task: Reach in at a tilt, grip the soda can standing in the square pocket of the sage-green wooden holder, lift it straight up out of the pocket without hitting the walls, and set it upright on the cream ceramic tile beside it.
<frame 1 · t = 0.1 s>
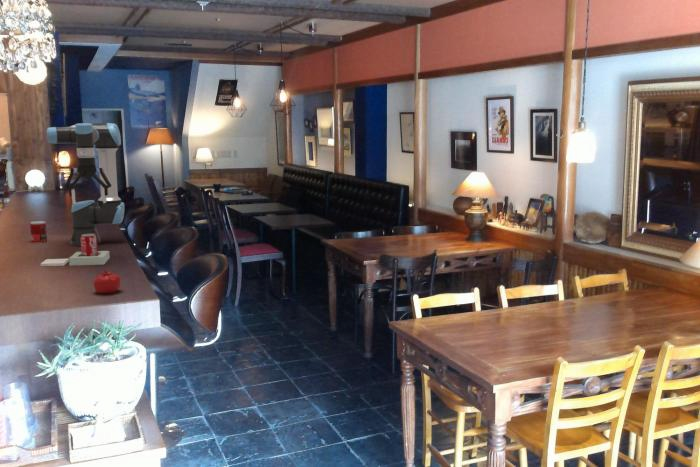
hand: (89, 203, 297), 28 cm above the table, tool pointing down, fingers open, 13 cm apart
soda can: (90, 262, 301), resting in holder
tile: (55, 263, 297), on the table
pomegranate: (107, 292, 248), on the table
canned food: (39, 242, 351), on the table
holder: (90, 261, 301), on the table
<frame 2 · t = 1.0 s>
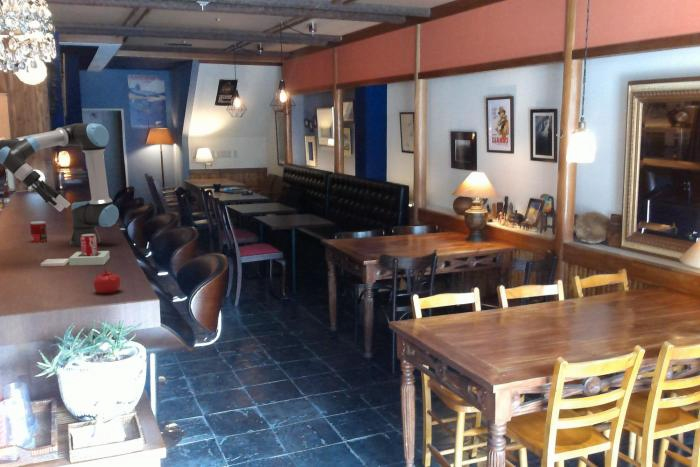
hand: (65, 207, 295), 26 cm above the table, tool tilted 45°, fingers open, 13 cm apart
nothing on the table moved.
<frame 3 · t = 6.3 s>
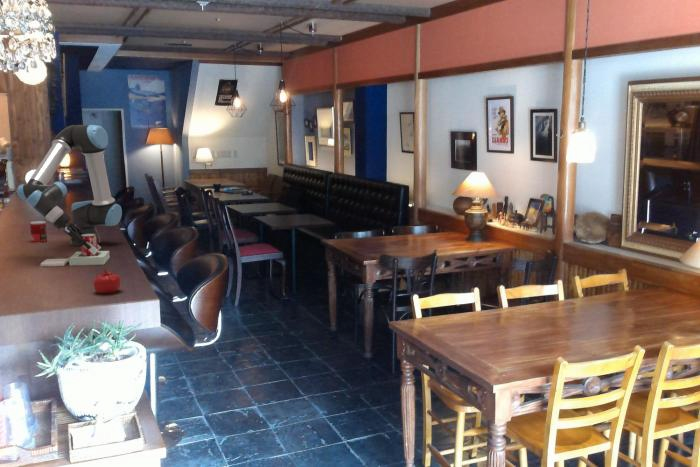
hand: (97, 251, 301), 5 cm above the table, tool tilted 45°, fingers closed on soda can, 6 cm apart
soda can: (90, 262, 301), resting in holder, touching gripper
everything else where it was.
when the fingers open (8 cm above the table, at t = 12.7 s): soda can drops 1 cm, resting on tile.
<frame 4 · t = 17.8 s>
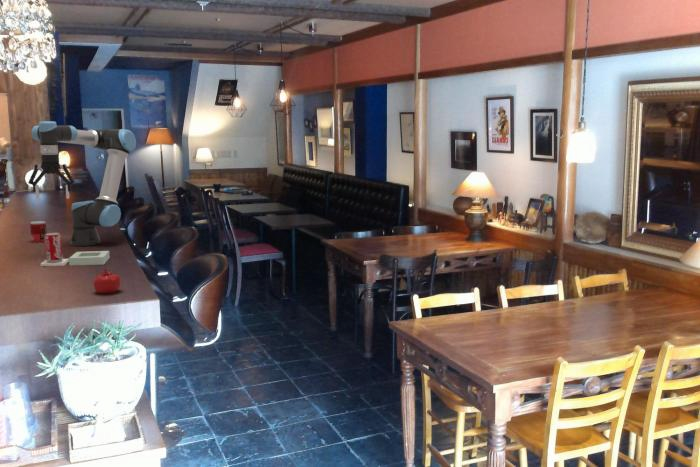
hand: (53, 198, 307), 29 cm above the table, tool pointing down, fingers open, 13 cm apart
soda can: (54, 261, 296), point 1 cm above the table, touching tile
everything else where it was.
at the end: soda can inside the target area (0.3 cm from its centre), point 1.0 cm above the table; soda can tilted 0°; the gripper is holding nothing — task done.
